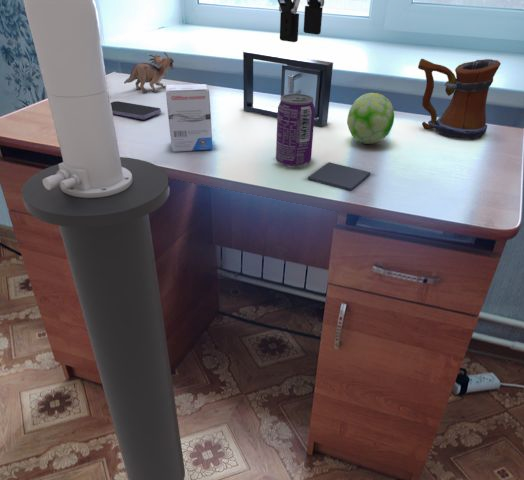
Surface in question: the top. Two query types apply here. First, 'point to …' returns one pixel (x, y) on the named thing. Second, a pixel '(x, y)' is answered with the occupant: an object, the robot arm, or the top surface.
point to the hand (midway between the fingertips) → (300, 36)
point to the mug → (461, 98)
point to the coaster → (339, 176)
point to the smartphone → (133, 110)
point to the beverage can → (295, 129)
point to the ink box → (189, 117)
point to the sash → (302, 83)
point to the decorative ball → (370, 118)
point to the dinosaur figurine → (151, 72)
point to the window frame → (290, 61)
